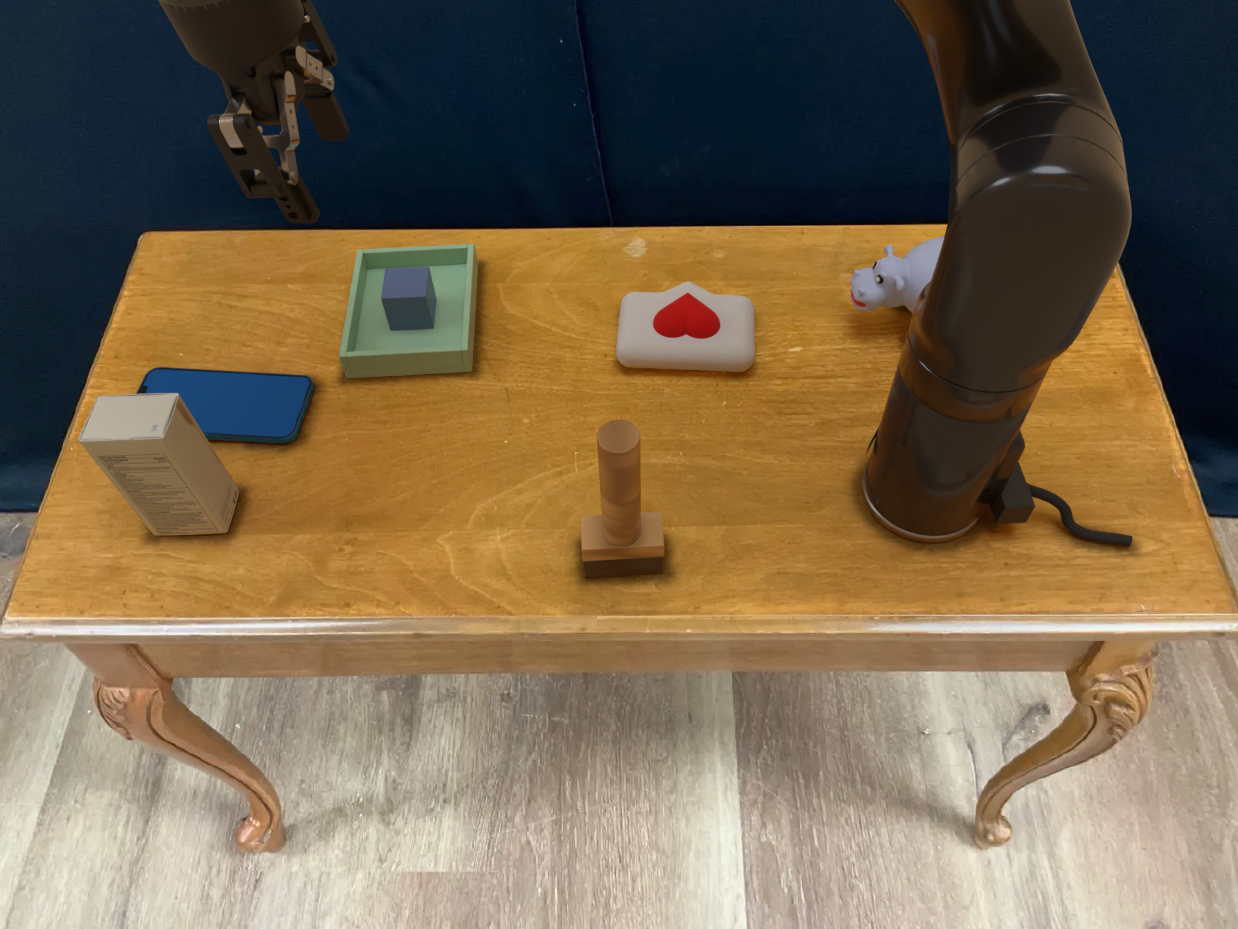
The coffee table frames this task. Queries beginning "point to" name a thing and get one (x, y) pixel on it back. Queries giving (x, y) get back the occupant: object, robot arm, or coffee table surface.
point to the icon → (686, 330)
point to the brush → (621, 511)
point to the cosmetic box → (161, 463)
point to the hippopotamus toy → (895, 278)
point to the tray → (415, 350)
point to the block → (409, 298)
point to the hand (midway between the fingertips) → (322, 177)
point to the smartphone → (237, 401)
